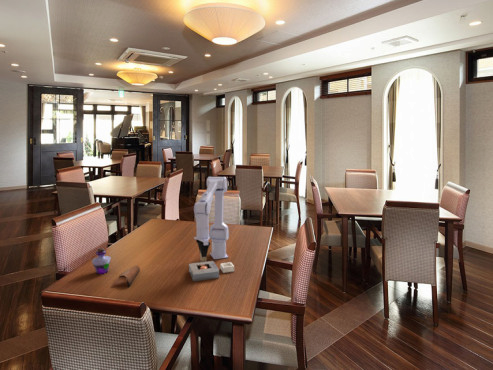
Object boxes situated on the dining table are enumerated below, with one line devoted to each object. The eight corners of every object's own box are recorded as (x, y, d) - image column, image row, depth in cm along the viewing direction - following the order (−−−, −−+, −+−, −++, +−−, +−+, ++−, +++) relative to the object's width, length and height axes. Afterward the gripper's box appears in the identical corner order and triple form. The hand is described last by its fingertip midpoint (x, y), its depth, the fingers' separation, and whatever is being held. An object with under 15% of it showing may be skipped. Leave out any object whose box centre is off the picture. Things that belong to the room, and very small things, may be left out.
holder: (220, 268, 167) (220, 263, 167) (231, 267, 169) (231, 262, 169) (223, 272, 162) (223, 267, 162) (234, 271, 164) (234, 266, 163)
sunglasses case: (122, 271, 164) (129, 260, 163) (135, 278, 165) (142, 267, 164) (110, 288, 146) (117, 275, 146) (124, 295, 147) (132, 282, 146)
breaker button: (199, 269, 161) (199, 266, 160) (206, 268, 162) (206, 265, 161) (201, 271, 158) (200, 269, 157) (207, 271, 159) (207, 268, 158)
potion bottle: (105, 276, 158) (103, 252, 157) (88, 275, 160) (86, 250, 158) (115, 269, 167) (114, 246, 165) (100, 268, 169) (98, 245, 167)
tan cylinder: (205, 259, 161) (205, 243, 160) (207, 261, 158) (206, 244, 157) (199, 260, 160) (199, 243, 159) (201, 262, 157) (200, 245, 156)
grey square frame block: (189, 271, 164) (189, 263, 163) (213, 268, 167) (213, 260, 167) (193, 281, 152) (193, 273, 152) (219, 277, 156) (219, 269, 156)
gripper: (191, 224, 162) (192, 251, 164) (196, 232, 149) (197, 261, 151) (206, 223, 165) (206, 250, 166) (212, 230, 151) (213, 260, 153)
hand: (203, 255), depth 159 cm, fingers closed on tan cylinder, 3 cm apart
